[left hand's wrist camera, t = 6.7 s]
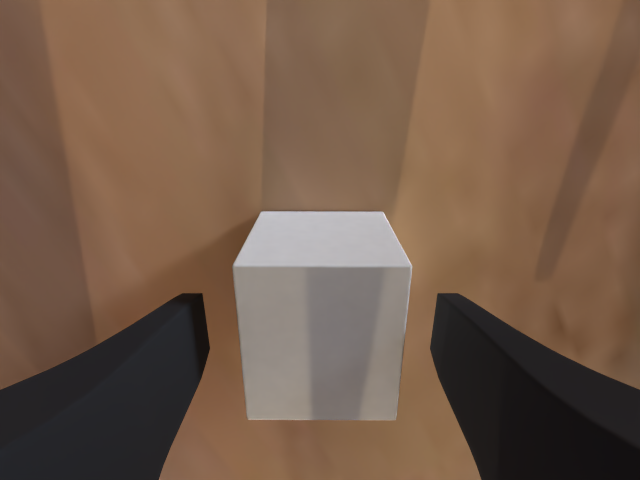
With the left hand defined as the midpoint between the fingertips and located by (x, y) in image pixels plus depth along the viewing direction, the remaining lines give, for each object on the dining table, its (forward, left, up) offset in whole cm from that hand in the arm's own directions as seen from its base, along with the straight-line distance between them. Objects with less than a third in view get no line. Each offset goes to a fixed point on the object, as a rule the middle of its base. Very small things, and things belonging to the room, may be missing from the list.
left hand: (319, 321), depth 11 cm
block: (0, 0, -3) cm, 3 cm away
